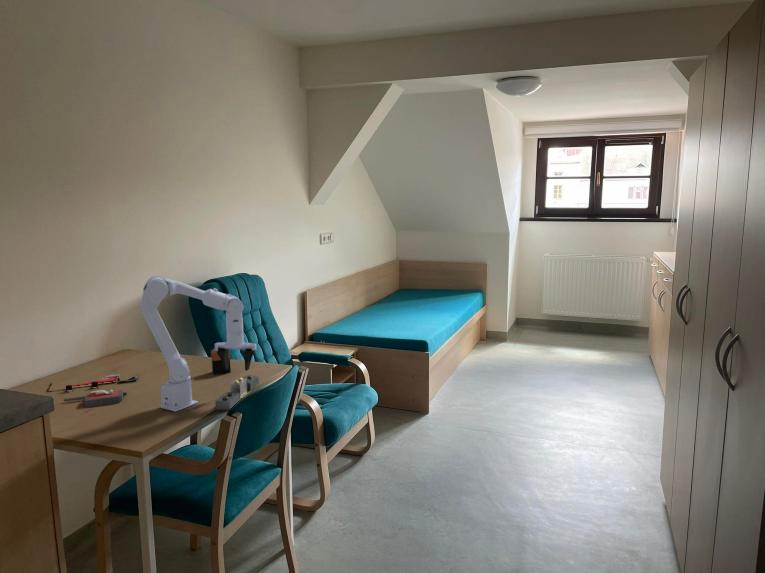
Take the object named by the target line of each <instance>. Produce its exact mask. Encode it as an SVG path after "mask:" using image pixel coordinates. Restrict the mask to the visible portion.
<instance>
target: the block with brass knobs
mask: <svg viewBox="0 0 765 573" xmlns="http://www.w3.org/2000/svg"><path fill="white" fill-rule="evenodd" d="M229 384H230V385H229V386H230V392H233V393H239V394H240V398H241V397H242V396H243V395H244V394H246V393H247V380H246V379H243V377H242V376H240V377H238V378H236V379H234V380H233V381H232V382H231V383H229Z"/></svg>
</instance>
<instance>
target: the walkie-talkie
mask: <svg viewBox="0 0 765 573" xmlns="http://www.w3.org/2000/svg"><path fill="white" fill-rule="evenodd" d="M127 395H128V394H127V392H124V390H123V389H122V390H121V389H120V390H113V389H110V391H107V390H104V389H100V390H99V389H97V390H92V391H90V392H89V394H86V395H85V396H84V395H83V396H76V397H67V398H66V397H65V398H63V402H73V401H81V400H82V405H83V406H85V408H89V407H90V406H91V407H96V406H98V405H99V406H105V404H106V405H112V404H113V403H114V404H121V403H122V402H123V401H124V396H127ZM122 400H123V401H122ZM120 402H121V403H120ZM99 406H98V407H99ZM91 407H90V408H91Z"/></svg>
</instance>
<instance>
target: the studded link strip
mask: <svg viewBox="0 0 765 573" xmlns="http://www.w3.org/2000/svg"><path fill="white" fill-rule="evenodd" d="M242 378H243V379H246V380H247V393H246V394H244V395H243V396H242V397H241V398H243V397H244V398H245V397H246V396H247V395H248V394H249V393H250V392H252V391H253V390H254V389H255V388H256V387H257V386H258V385H259V384H260V383H259V376H258V375H251V374H250V375H245V376H243V377H242ZM257 384H258V385H257ZM256 385H257V386H256ZM255 386H256V387H255ZM254 387H255V388H254ZM253 388H254V389H253ZM252 389H253V390H252ZM241 398H240V394H239V393H233V392H231V391H228V392H224V393H222V395H221V396H219V397H218V398H217V399H215V403H214V404H215V410H220V411H221V410H223V411H226V410H227V411H231V410H232V409H233V408H234V407H235V406H236V405H237V404H238V403H239V402H238V401H239V400H240V399H241ZM244 398H243V399H244ZM237 402H238V403H237ZM236 403H237V404H236ZM235 404H236V405H235ZM234 405H235V406H234ZM233 406H234V407H233ZM232 407H233V408H232ZM231 408H232V409H231ZM230 409H231V410H230Z"/></svg>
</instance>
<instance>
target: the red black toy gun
mask: <svg viewBox="0 0 765 573" xmlns="http://www.w3.org/2000/svg"><path fill="white" fill-rule="evenodd" d="M119 376H120V373H117V374H116V375H109V376H106V378H105V379H103V378H102V379H101V380H97V381H91V382H88V383H83V384H81V383H79V384H76V385H66V390H72V391H73V389H72V386H80V385H88V384H92V386H91V388H92V387H97V386H98V387H99V385H98V383H104V382H113V381H116V379H117V377H119ZM138 378H139V376H138V375H136V376H135V377H132V378H130V379H128V380H125V381H123V382H131V381H138ZM117 380H118V379H117ZM123 382H122V383H123ZM66 390H65V391H66Z"/></svg>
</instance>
